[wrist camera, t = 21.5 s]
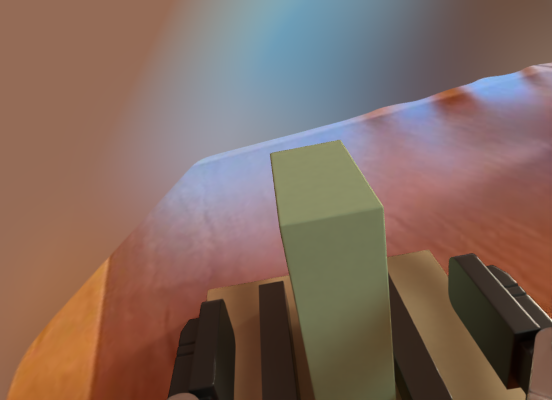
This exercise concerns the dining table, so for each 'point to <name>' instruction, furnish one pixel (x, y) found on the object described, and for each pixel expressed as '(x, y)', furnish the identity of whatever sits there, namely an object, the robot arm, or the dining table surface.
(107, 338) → the dining table surface
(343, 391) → the green rectangular block
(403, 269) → the seat base
